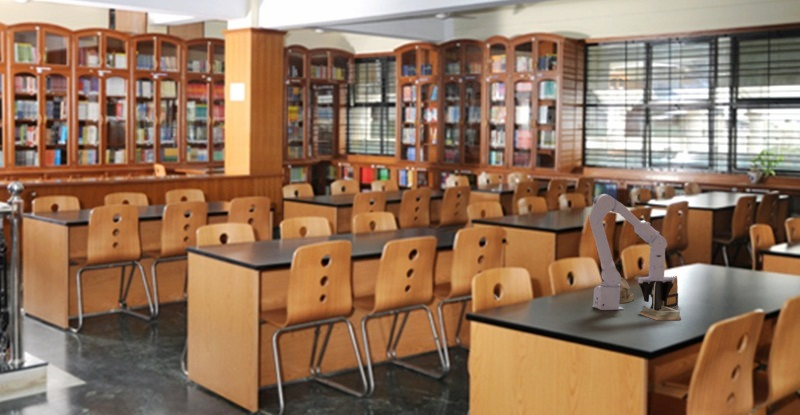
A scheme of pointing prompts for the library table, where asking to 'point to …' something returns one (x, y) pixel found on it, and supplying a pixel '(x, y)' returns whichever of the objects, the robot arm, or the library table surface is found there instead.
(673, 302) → the ammunition clip
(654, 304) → the battery
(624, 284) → the ceramic model
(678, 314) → the battery dock
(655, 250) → the robot arm
